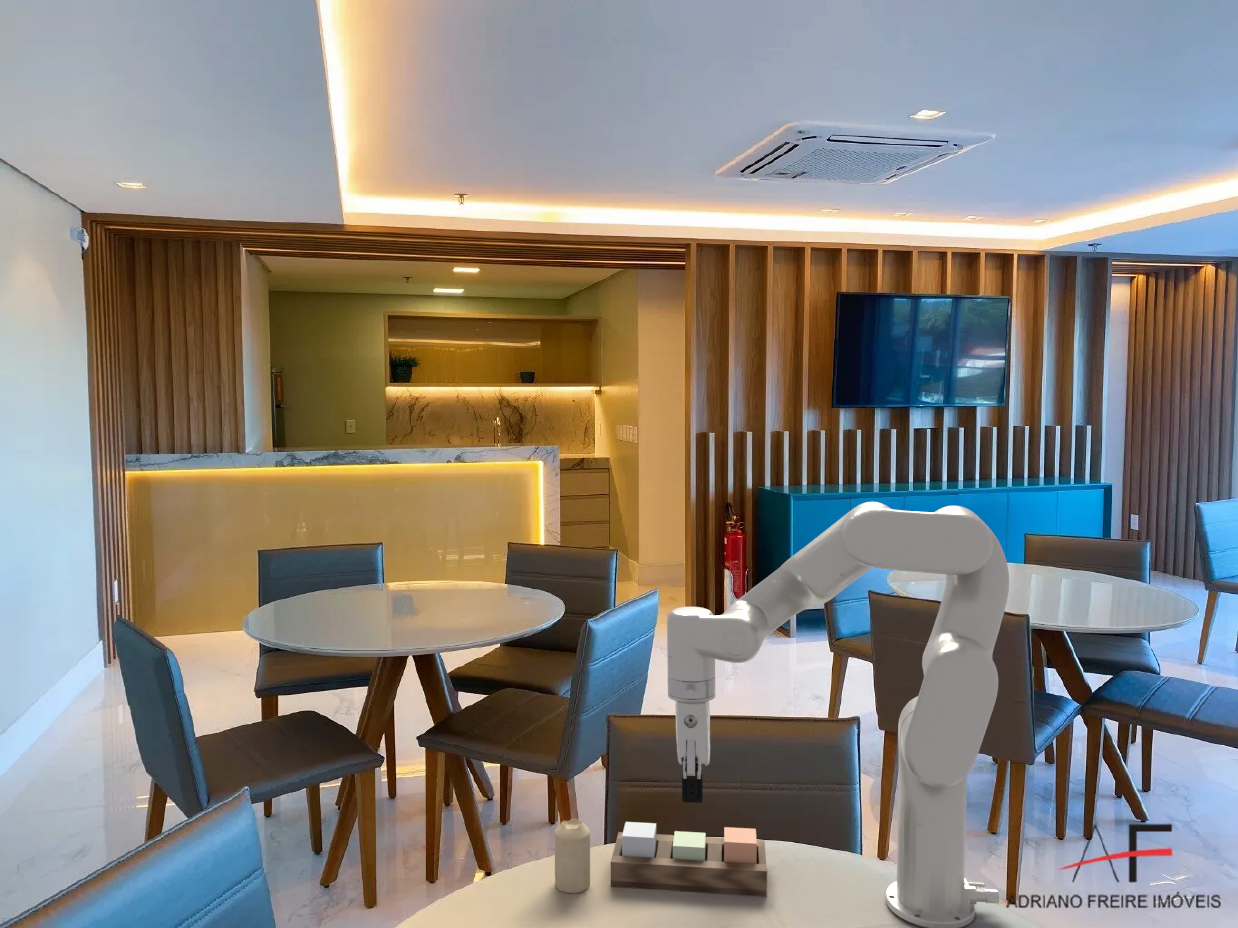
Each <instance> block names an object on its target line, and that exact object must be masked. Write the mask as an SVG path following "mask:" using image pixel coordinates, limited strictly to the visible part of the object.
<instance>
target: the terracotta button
mask: <svg viewBox="0 0 1238 928" xmlns="http://www.w3.org/2000/svg"><path fill="white" fill-rule="evenodd" d="M723 829H724V830H723V831H724V832H723V833H724V835H723V836H724V837H723V838H724V862H735V863H752V864H757V841H756V840H757V829H756V828H750V827H748V828H747V827H746V828H744V827H729V826H727V827H726V826H725V827H724V828H723Z"/></svg>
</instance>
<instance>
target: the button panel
mask: <svg viewBox="0 0 1238 928" xmlns="http://www.w3.org/2000/svg"><path fill="white" fill-rule="evenodd" d="M622 834H623V831H618V833H617V837H616V841H615V844H614V846H613V847H614V848H613V852H612V854H611V855H612V856H611V859H610V887H611V888H622V889H623V888H624V889H638V890H639V889H640V890H655V891H670V892H684V893H685V892H687V893H704V894H719V895H733V896H751V897H763V898H765V897H766V898H767V897H768V891H767V890H768V871H767V870H768V867H767V854H766V841H765V840H764V839H756V841H757V864H752V863H735V862H724V837H712V836H706V861H701V860H684V859H673V840H674V835H673V834H657V833H656V855H655V858H650V857H633V856H622Z"/></svg>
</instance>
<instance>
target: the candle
mask: <svg viewBox="0 0 1238 928" xmlns="http://www.w3.org/2000/svg"><path fill="white" fill-rule="evenodd" d="M590 884H591V830H590V828H589V827H588V826H587V825H586V824H585V823H584V822H583V821H581V820H579V819H578V818H576V817H575V818H572V819H571V818H570V819H569V820H563V821H561V823H559V825H558V826H557V827H556V828H555V830H554V885H555V888H556V889H557V890H558V891H560V893H561V892H562V893H564V894H578V893H582V892H584V891H586V890H587V889H589V887H590V886H591V885H590Z"/></svg>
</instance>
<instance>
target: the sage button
mask: <svg viewBox="0 0 1238 928" xmlns="http://www.w3.org/2000/svg"><path fill="white" fill-rule="evenodd" d="M673 834H674V840H673V859H684V860H701V861H706V837H707V836H706V835H707V834H706V832H698V831H697V832H696V831H694V832H693V831H678V830H675V831H674V833H673Z"/></svg>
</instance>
